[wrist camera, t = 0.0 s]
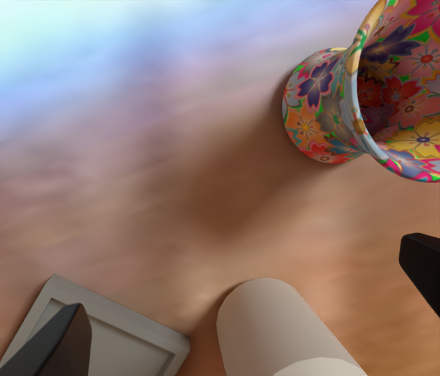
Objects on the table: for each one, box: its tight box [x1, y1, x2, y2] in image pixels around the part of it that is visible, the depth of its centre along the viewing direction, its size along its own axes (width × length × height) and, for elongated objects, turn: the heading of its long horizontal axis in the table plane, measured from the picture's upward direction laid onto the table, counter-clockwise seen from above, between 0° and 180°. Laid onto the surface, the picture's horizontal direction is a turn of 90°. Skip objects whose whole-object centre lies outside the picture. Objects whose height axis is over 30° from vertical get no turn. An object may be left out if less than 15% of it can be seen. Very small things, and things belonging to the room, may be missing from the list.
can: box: [216, 277, 368, 376], centre depth 20 cm, size 8×8×12 cm
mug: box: [282, 0, 440, 183], centre depth 19 cm, size 12×9×11 cm
